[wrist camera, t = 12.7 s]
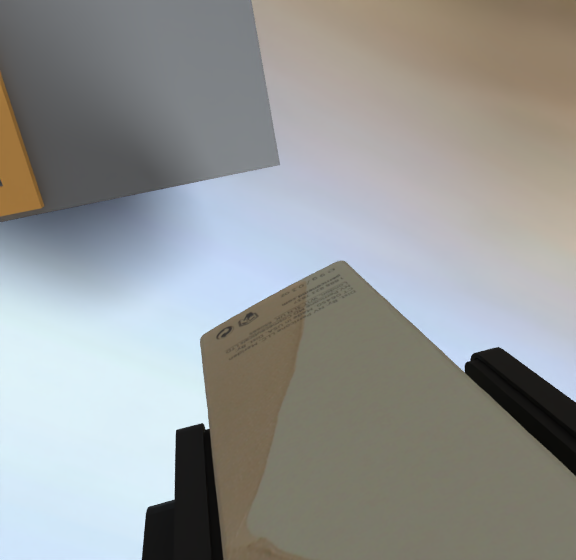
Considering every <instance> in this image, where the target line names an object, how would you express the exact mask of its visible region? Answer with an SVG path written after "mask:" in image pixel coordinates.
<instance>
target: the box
mask: <svg viewBox="0 0 576 560" xmlns="http://www.w3.org/2000/svg"><path fill="white" fill-rule="evenodd" d="M200 346H201V353H202V364H203V373H204V382H205V392H206V399H207V407H208V419H209V428H210V437H211V448H212V458H213V468H214V477H215V486H216V494H217V503H218V513H219V522H220V530H221V541H222V550H223V559H224V560H576V476H575V475H574V474H573V473H572V472H571V471H570V470H569V469H568V468H566V467H565V466H564V465H563V464H562V463H561V462H560V461H559V460H558V459H557V458H556V457H555V456H554V455H553V454H552V453H551V452H550V451H548V450H547V449H546V448H545V447H544V446H543V445H542V444H541V443H540V442H539V441H537V440H536V439H535V438H534V437H533V436H532V435H531V434H530V433H528V432H527V431H526V430H525V429H524V428H523V427H522V426H521V425H520V424H519V423H518V422H517V421H516V420H515V419H514V418H513V417H512V416H511V415H510V414H509V413H508V412H507V411H505V410H504V409H503V408H502V407H501V406H500V405H499V404H498V403H497V402H496V401H495V400H494V399H493V398H492V397H491V396H490V395H488V394H487V393H486V392H485V391H484V390H483V389H482V388H480V387H479V386H478V385H477V384H476V383H475V382H474V381H473V380H472V379H471V378H470V377H469V376H468V375H467V374H466V373H464V372H463V371H462V370H461V369H460V368H459V367H458V366H457V365H456V364H455V363H454V362H453V361H452V360H451V359H449V358H448V357H447V356H446V355H445V354H444V353H443V352H442V351H441V350H440V349H439V348H438V347H437V346H436V345H435V344H433V343H432V342H431V341H430V340H429V339H428V338H427V337H426V336H425V335H424V334H423V333H422V332H421V331H419V330H418V329H417V328H416V327H415V326H414V325H413V324H412V323H411V322H410V321H409V320H407V319H406V318H405V317H404V316H403V315H402V314H401V313H400V312H399V311H398V310H397V309H395V308H394V307H393V306H392V305H391V304H390V303H389V302H388V301H387V300H386V299H385V298H384V297H383V296H381V295H380V294H379V293H378V292H377V291H376V290H375V289H374V288H373V287H372V286H371V285H370V284H369V283H368V282H366V281H365V280H364V279H363V278H362V277H361V276H360V275H359V274H358V273H357V272H356V271H355V270H354V269H353V268H352V267H350V266H349V265H348V263H346V262H345V261H338V262H335V263H333V264H331V265H329V266H327V267H325V268H323V269H321V270H319V271H317V272H315V273H313V274H311V275H309V276H307V277H305V278H303V279H302V280H300V281H298V282H296V283H294V284H292V285H290V286H288V287H286V288H284V289H282V290H280V291H279V292H277V293H275V294H273V295H271V296H269V297H268V298H266V299H264V300H262V301H260V302H259V303H257V304H255V305H253V306H251V307H250V308H248V309H246V310H245V311H243V312H241V313H240V314H237V315H236V316H234V317H232V318H231V319H229V320H227V321H226V322H224V323H222V324H220V325H218V326H217V327H215V328H213V329H212V330H210V331H209V332H207V333H205V334H204V335H203V336H202V337H201V339H200Z"/></svg>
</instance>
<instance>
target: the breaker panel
mask: <svg viewBox="0 0 576 560" xmlns="http://www.w3.org/2000/svg"><path fill="white" fill-rule="evenodd" d="M277 165H280V162H279V157H278V151H277V145H276V139H275V134H274V128H273V122H272V116H271V111H270V105H269V99H268V94H267V88H266V82H265V76H264V71H263V65H262V59H261V54H260V48H259V42H258V36H257V31H256V25H255V19H254V14H253V8H252V2H251V0H0V179H1V182H0V222H3V221H8V220H13V219H18V218H23V217H27V216H32V215H37V214H42V213H47V212H52V211H57V210H62V209H67V208H71V207H76V206H81V205H86V204H91V203H96V202H101V201H106V200H111V199H115V198H120V197H125V196H130V195H135V194H140V193H145V192H150V191H155V190H159V189H164V188H169V187H174V186H179V185H184V184H189V183H194V182H198V181H203V180H208V179H213V178H218V177H223V176H228V175H233V174H238V173H242V172H247V171H252V170H257V169H262V168H267V167H272V166H277Z"/></svg>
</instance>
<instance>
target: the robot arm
mask: <svg viewBox="0 0 576 560" xmlns="http://www.w3.org/2000/svg"><path fill="white" fill-rule="evenodd" d="M465 373H466V374H467V375H468V376H469V377H470V378H471V379H472V380H473V381H474V382H475V383H476V384H477V385H478V386H479V387H480V388H482V389H483V390H484V391H485V392H486V393H487V394H488V395H490V396H491V397H492V398H493V399H494V400H495V401H496V402H497V403H498V404H499V405H500V406H501V407H502V408H503V409H504V410H505V411H507V412H508V413H509V414H510V415H511V416H512V417H513V418H514V419H515V420H516V421H517V422H518V423H519V424H520V425H521V426H522V427H523V428H524V429H525V430H526V431H527V432H528V433H530V434H531V435H532V436H533V437H534V438H535V439H536V440H537V441H539V442H540V443H541V444H542V445H543V446H544V447H545V448H546V449H547V450H548V451H550V452H551V453H552V454H553V455H554V456H555V457H556V458H557V459H558V460H559V461H560V462H561V463H562V464H563V465H564V466H565V467H566V468H568V469H569V470H570V471H571V472H572V473H573V474H574V475H575V476H576V402H574V401H573V400H571V399H570V398H569V397H567V396H566V395H565V394H563V393H562V392H560V391H559V390H558V389H556V388H555V387H554V386H552V385H551V384H550V383H548V382H547V381H545V380H544V379H543V378H541V377H540V376H539V375H537V374H536V373H535V372H533V371H532V370H530V369H529V368H528V367H526V366H525V365H524V364H522V363H521V362H520V361H518V360H517V359H515V358H514V357H513V356H511V355H510V354H509V353H507V352H506V351H504V350H503V349H501V348H499V347H497V348H492V349H489V350H485V351H481V352H477V353H474V354H473V355H472V356H471V361H469V362H467V363H466V364H465ZM142 560H224V559H223V550H222V541H221V530H220V522H219V513H218V503H217V494H216V486H215V477H214V468H213V458H212V448H211V437H210V429H207V430H205V427H204V424H203V423H201V424H198V425H194V426H190V427H186V428H182V429H178V430H176V454H175V500H172V501H168V502H165V503H161V504H157V505H154V506H150V507H148V509H147V512H146V520H145V531H144V542H143V553H142Z"/></svg>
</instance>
